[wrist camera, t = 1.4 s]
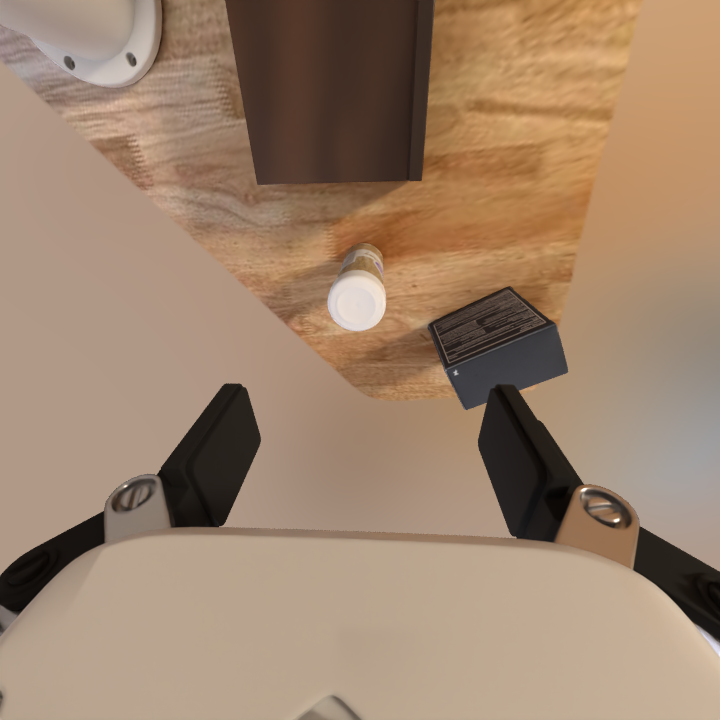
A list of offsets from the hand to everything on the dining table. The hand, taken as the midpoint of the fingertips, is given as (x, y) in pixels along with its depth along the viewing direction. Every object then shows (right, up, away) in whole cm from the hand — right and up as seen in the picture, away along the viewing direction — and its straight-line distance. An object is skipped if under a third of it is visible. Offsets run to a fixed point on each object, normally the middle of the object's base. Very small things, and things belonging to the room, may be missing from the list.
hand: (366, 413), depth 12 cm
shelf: (-2, +27, +14) cm, 30 cm away
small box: (+14, +6, +26) cm, 30 cm away
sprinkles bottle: (0, +13, +23) cm, 26 cm away
